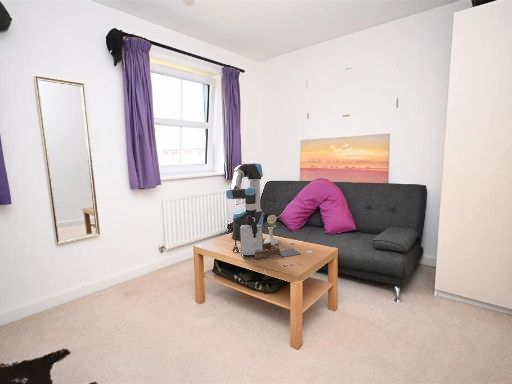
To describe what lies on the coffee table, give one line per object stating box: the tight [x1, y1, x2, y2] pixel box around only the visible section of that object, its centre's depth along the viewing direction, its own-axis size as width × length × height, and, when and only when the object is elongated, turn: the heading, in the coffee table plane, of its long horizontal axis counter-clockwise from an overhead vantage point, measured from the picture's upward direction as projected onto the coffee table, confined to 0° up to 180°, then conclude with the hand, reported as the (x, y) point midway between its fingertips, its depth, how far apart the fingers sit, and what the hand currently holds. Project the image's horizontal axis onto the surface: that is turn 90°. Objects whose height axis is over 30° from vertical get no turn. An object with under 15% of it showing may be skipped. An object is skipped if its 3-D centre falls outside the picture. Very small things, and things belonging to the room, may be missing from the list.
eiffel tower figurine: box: [231, 236, 241, 253], centre depth 205 cm, size 15×10×13 cm
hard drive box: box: [239, 224, 264, 256], centre depth 194 cm, size 16×8×20 cm, turn 85°
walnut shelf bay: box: [254, 242, 281, 261], centre depth 198 cm, size 16×18×5 cm
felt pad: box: [280, 248, 302, 258], centre depth 199 cm, size 12×14×1 cm
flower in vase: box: [263, 214, 279, 246], centre depth 217 cm, size 13×11×25 cm
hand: (251, 239), depth 194 cm, fingers closed on hard drive box, 10 cm apart
